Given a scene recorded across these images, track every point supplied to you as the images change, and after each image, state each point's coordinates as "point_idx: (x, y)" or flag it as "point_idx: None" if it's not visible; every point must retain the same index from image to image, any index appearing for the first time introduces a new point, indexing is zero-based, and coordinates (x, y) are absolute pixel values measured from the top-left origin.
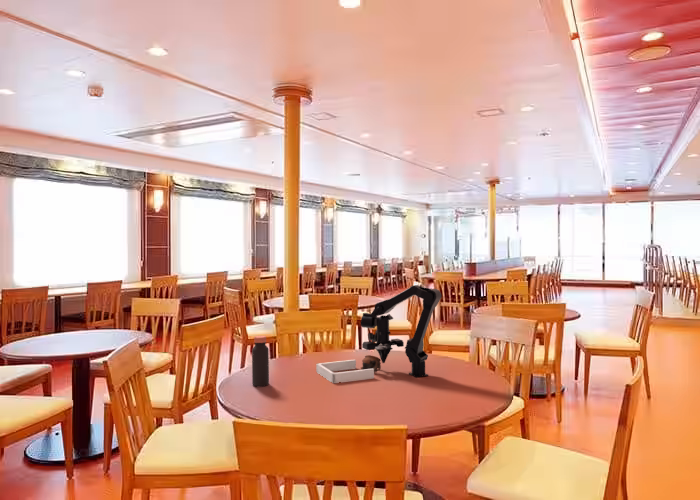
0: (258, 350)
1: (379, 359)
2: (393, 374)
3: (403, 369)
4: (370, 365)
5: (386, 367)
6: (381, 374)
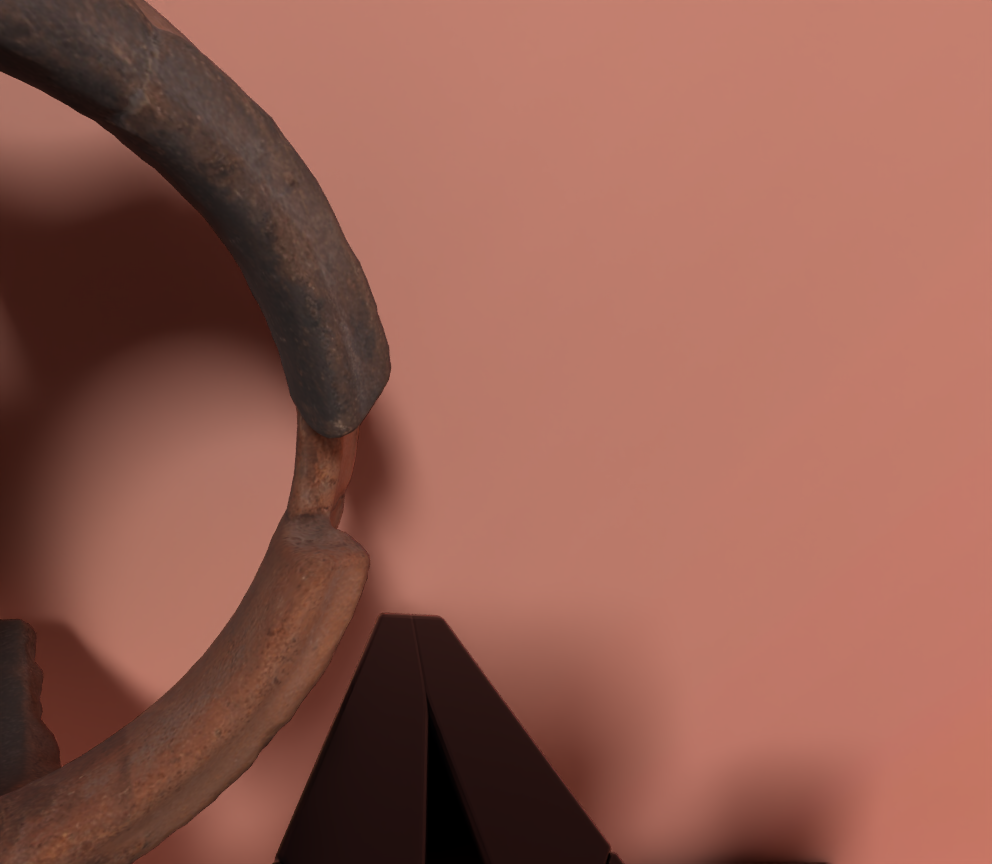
0: None
1: (196, 782)
2: None
3: (853, 592)
4: None
5: (734, 201)
6: (124, 719)
